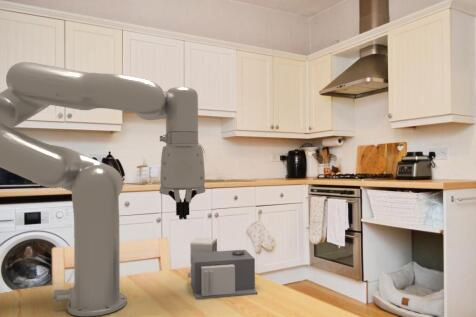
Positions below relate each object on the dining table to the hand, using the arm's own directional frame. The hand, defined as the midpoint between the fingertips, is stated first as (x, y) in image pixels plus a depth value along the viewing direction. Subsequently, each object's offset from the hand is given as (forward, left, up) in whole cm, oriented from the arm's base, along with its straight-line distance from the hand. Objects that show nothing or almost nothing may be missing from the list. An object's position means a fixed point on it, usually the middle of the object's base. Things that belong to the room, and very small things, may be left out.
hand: (182, 218), depth 88 cm
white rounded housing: (+7, +18, -19) cm, 27 cm away
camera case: (+10, +6, -19) cm, 22 cm away
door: (+8, 0, -19) cm, 20 cm away
